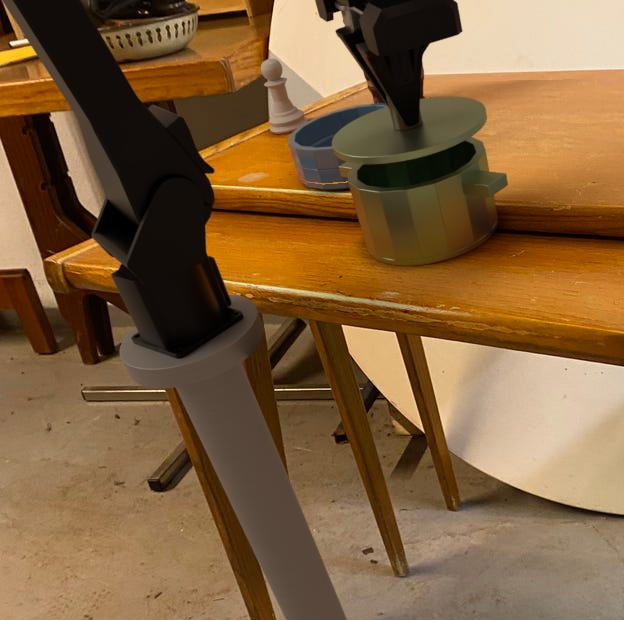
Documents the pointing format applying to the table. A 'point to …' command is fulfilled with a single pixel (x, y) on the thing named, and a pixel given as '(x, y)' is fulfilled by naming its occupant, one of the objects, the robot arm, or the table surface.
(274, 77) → the chess piece
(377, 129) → the lid
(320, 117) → the pan
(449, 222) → the pot
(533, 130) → the table surface
